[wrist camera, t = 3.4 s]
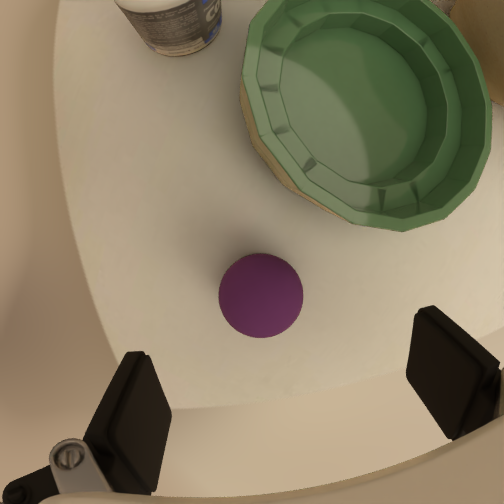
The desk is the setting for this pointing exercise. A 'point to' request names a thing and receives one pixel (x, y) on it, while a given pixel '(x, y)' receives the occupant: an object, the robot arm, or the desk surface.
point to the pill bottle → (174, 23)
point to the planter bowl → (484, 39)
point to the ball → (260, 295)
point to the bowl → (367, 107)
